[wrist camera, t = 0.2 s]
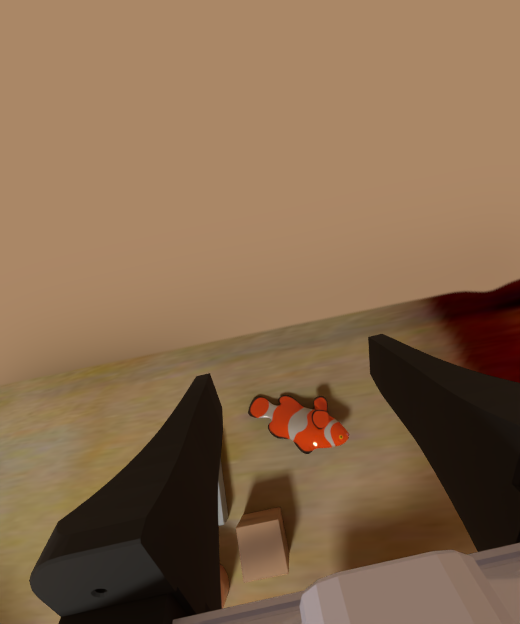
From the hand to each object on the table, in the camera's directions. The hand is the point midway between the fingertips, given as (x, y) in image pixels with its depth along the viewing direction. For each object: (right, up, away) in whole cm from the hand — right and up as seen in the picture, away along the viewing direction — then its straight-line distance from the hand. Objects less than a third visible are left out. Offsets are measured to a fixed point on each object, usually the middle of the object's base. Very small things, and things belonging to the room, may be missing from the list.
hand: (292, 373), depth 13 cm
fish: (+5, -13, +29) cm, 32 cm away
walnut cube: (-1, -26, +24) cm, 35 cm away
